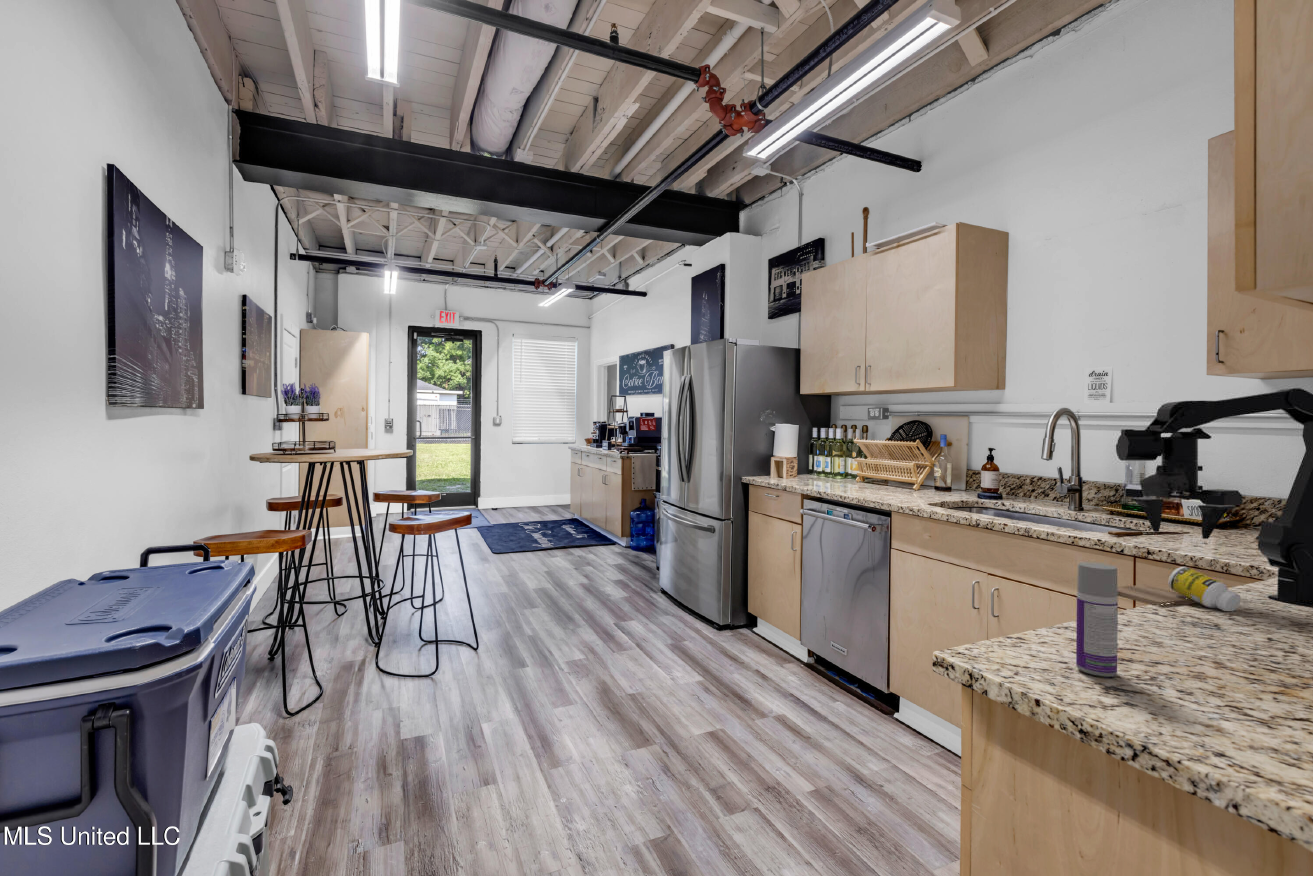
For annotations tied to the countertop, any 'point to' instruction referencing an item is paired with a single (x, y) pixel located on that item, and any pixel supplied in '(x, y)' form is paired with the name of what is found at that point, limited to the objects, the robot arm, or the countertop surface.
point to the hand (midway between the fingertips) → (1179, 535)
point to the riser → (1153, 595)
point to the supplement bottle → (1203, 589)
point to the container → (1097, 619)
